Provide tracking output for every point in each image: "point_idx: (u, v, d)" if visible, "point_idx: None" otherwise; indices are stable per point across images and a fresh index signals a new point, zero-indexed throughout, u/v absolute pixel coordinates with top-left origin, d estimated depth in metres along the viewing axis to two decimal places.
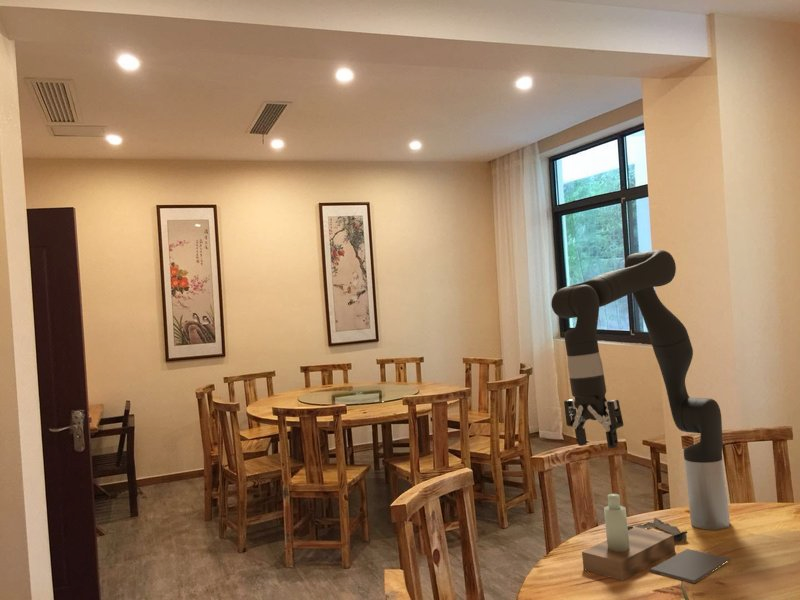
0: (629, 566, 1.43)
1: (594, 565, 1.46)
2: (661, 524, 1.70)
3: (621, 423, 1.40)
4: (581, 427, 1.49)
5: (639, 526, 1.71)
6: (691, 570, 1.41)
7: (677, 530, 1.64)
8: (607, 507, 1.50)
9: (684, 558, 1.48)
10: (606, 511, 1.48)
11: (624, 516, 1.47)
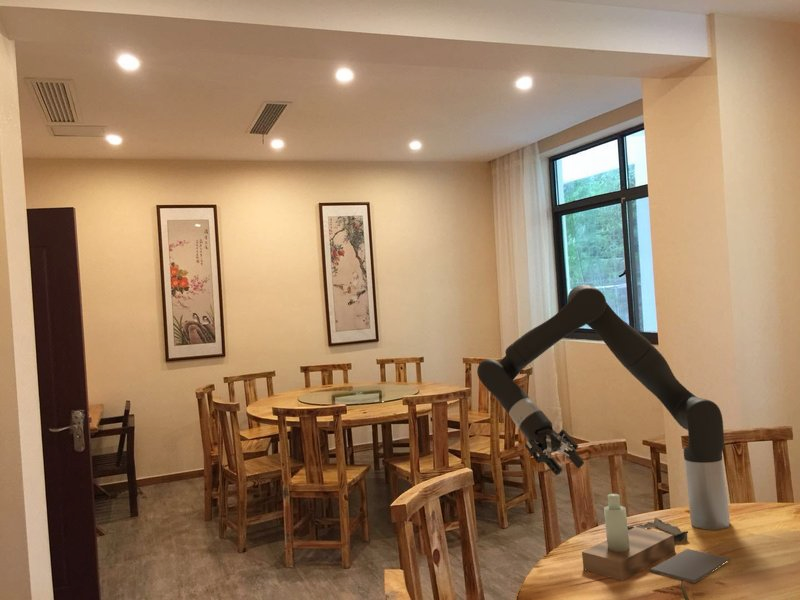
0: (629, 566, 1.43)
1: (594, 565, 1.46)
2: (661, 524, 1.70)
3: (539, 456, 1.57)
4: (571, 452, 1.63)
5: (640, 526, 1.71)
6: (691, 570, 1.41)
7: (677, 530, 1.64)
8: (607, 507, 1.50)
9: (684, 558, 1.48)
10: (606, 511, 1.48)
11: (624, 516, 1.47)
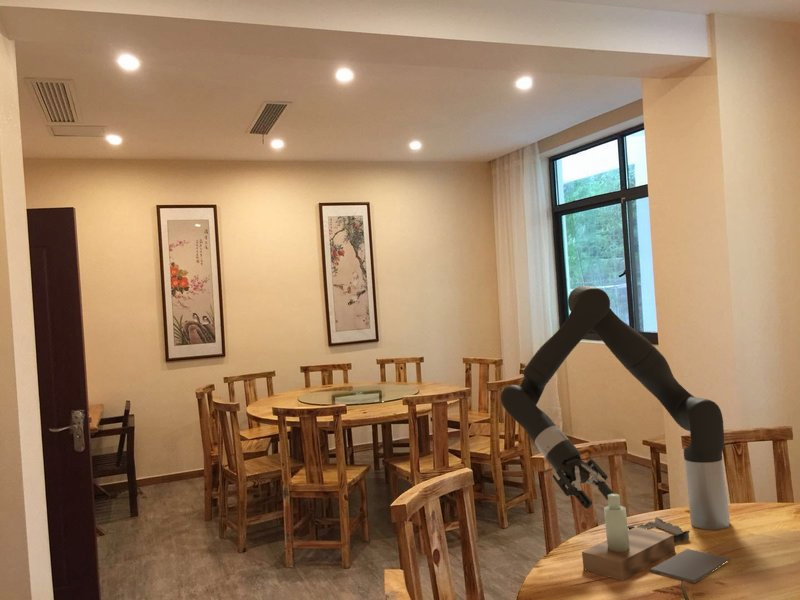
0: (629, 566, 1.43)
1: (594, 565, 1.46)
2: (662, 524, 1.71)
3: (568, 488, 1.51)
4: (600, 484, 1.57)
5: (641, 526, 1.71)
6: (691, 570, 1.41)
7: (679, 529, 1.65)
8: (607, 507, 1.50)
9: (684, 558, 1.48)
10: (606, 511, 1.48)
11: (624, 516, 1.47)
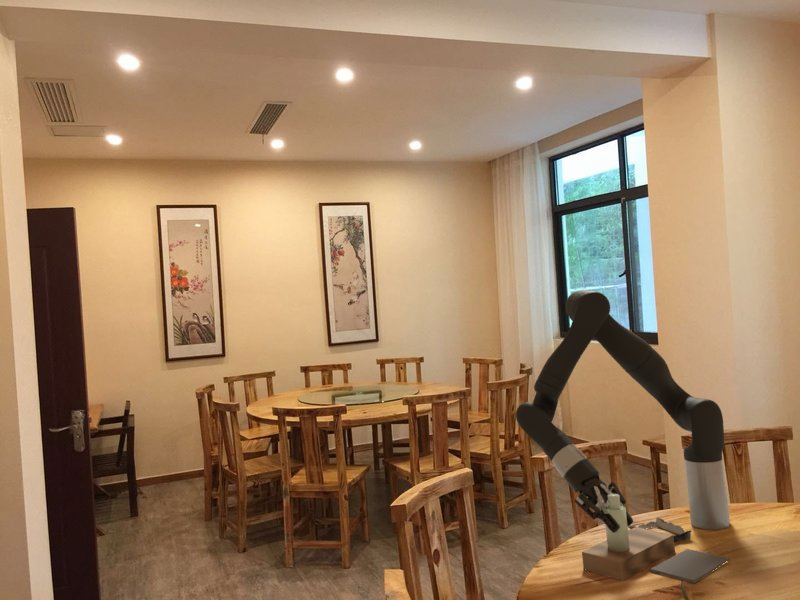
0: (629, 566, 1.43)
1: (594, 565, 1.46)
2: (663, 524, 1.71)
3: (595, 512, 1.47)
4: None
5: (642, 526, 1.72)
6: (691, 570, 1.41)
7: (680, 529, 1.65)
8: (607, 507, 1.50)
9: (684, 558, 1.48)
10: None
11: (624, 516, 1.47)
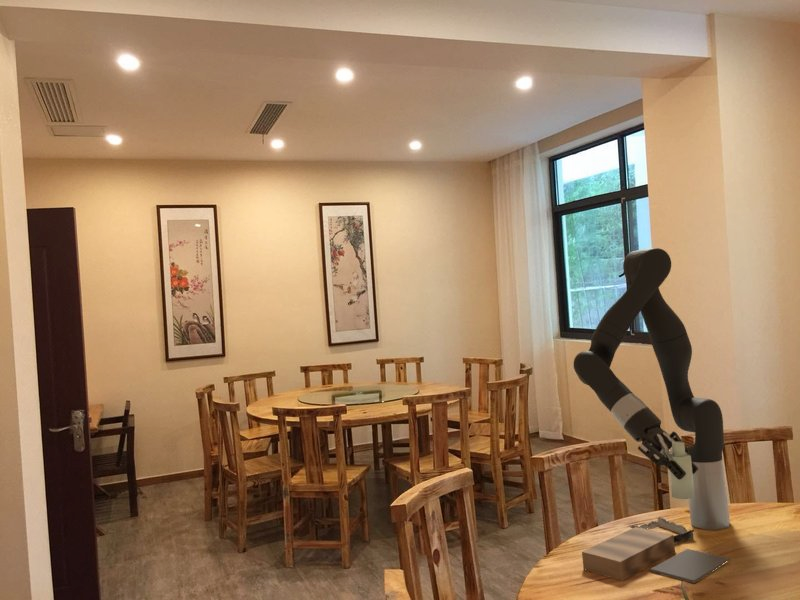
0: (629, 566, 1.43)
1: (594, 565, 1.46)
2: (665, 524, 1.71)
3: (661, 459, 1.43)
4: None
5: (644, 525, 1.72)
6: (691, 570, 1.41)
7: (683, 528, 1.65)
8: (671, 455, 1.47)
9: (684, 558, 1.48)
10: None
11: (690, 463, 1.44)
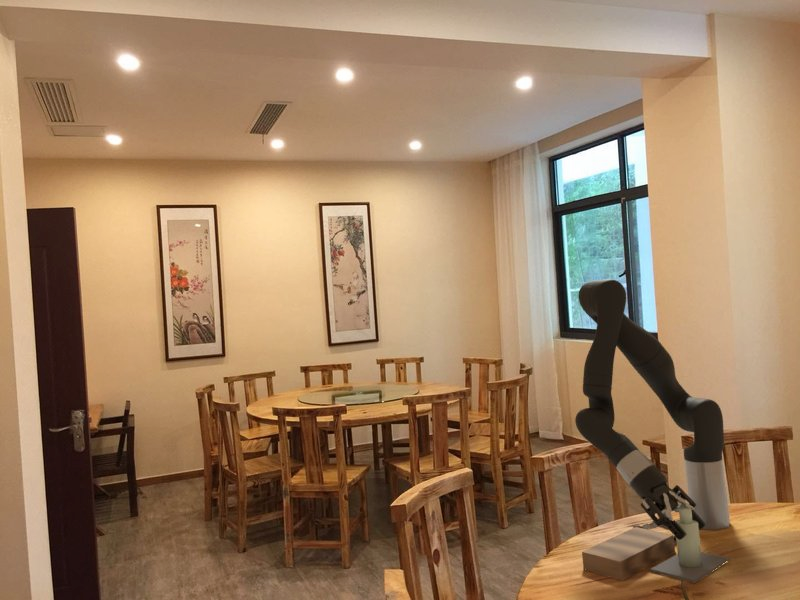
0: (629, 566, 1.43)
1: (594, 565, 1.46)
2: None
3: (660, 518, 1.43)
4: None
5: (646, 525, 1.72)
6: (691, 570, 1.41)
7: None
8: (678, 521, 1.47)
9: None
10: None
11: (697, 531, 1.43)
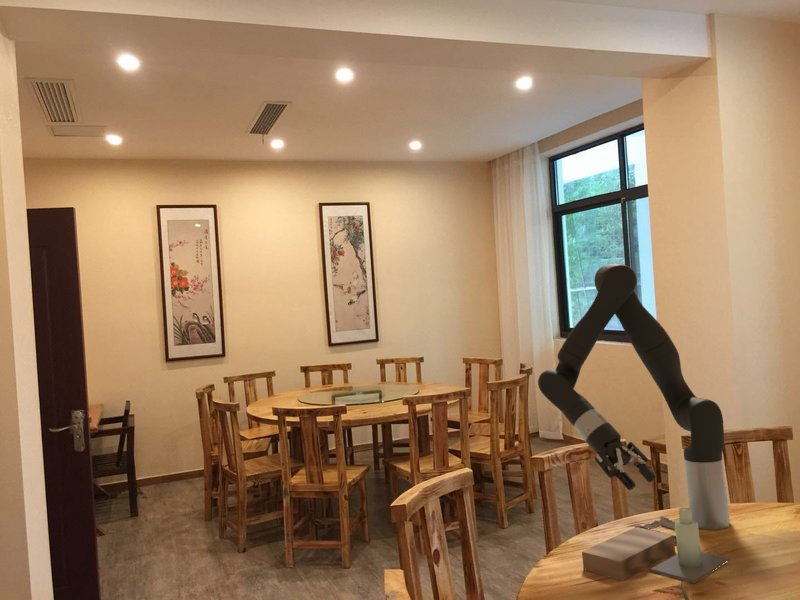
0: (629, 566, 1.43)
1: (594, 565, 1.46)
2: (668, 523, 1.71)
3: (611, 470, 1.52)
4: (641, 466, 1.58)
5: (647, 525, 1.72)
6: (691, 570, 1.41)
7: None
8: (678, 521, 1.47)
9: None
10: (678, 526, 1.45)
11: (697, 531, 1.43)
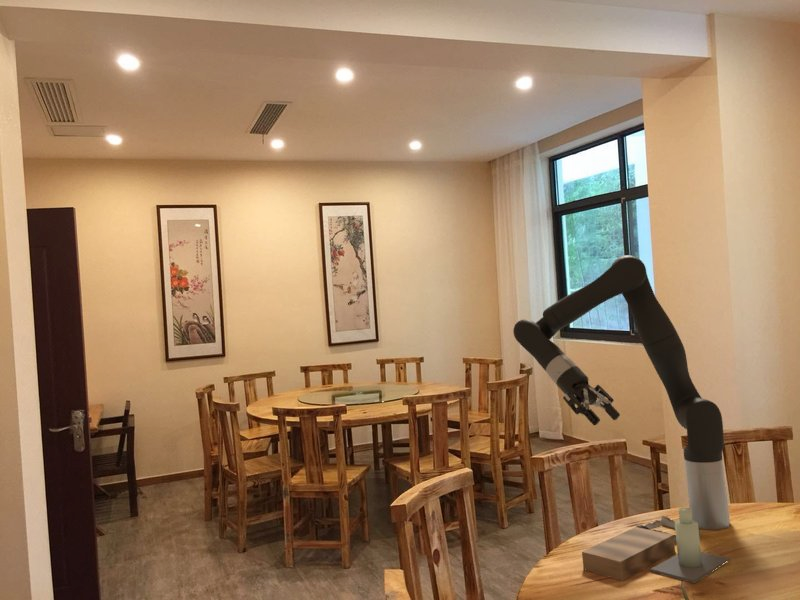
0: (629, 566, 1.43)
1: (594, 565, 1.46)
2: (670, 522, 1.72)
3: (578, 407, 1.63)
4: (607, 405, 1.70)
5: (649, 525, 1.72)
6: (691, 570, 1.41)
7: None
8: (678, 521, 1.47)
9: None
10: (677, 525, 1.45)
11: (697, 531, 1.43)
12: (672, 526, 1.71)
